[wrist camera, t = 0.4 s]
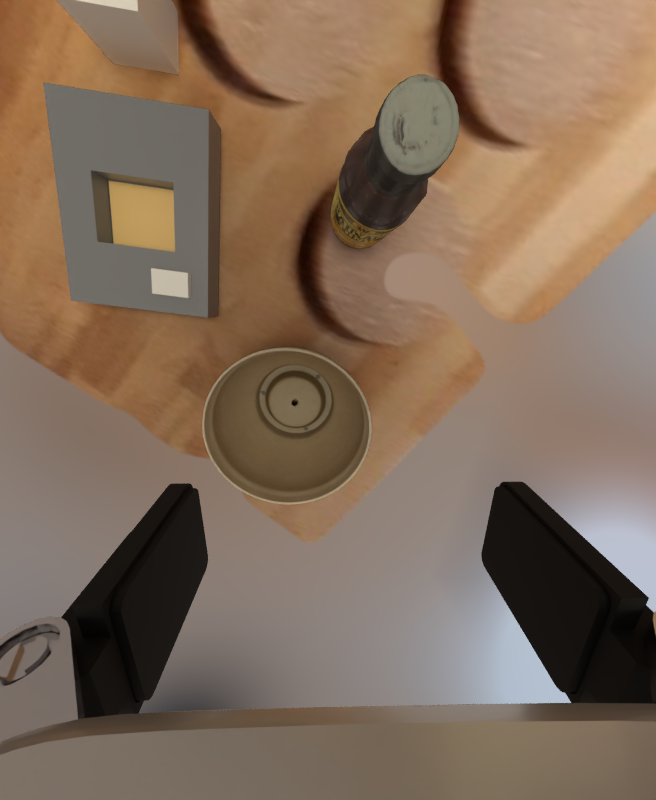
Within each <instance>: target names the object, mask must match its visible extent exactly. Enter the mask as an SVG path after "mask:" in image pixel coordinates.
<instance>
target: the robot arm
mask: <svg viewBox="0 0 656 800" xmlns="http://www.w3.org/2000/svg"><path fill="white" fill-rule="evenodd" d="M482 561H483V564H484V567H485V568H486V570H487V572H488V573H489V575H490V577H491V578H492V580H493V581H494V583H495V585H496V587H497V588H498V590H499V592H500V593H501V595H502V597H503V598H504V600H505V602H506V603H507V605H508V607H509V608H510V610H511V612H512V614H513V615H514V617H515V619H516V620H517V622H518V623H519V625H520V627H521V628H522V630H523V632H524V634H525V635H526V637H527V639H528V640H529V642H530V643H531V645H532V647H533V649H534V650H535V652H536V654H537V655H538V657H539V659H540V660H541V662H542V664H543V665H544V667H545V669H546V670H547V672H548V674H549V675H550V677H551V679H552V680H553V682H554V684H555V685H556V686H557V688H558V689H559V690H560V691H562V692H565V693H566V694H567V696H568V698H569V699H570V701H571V703H541V704H540V703H538V704H465V705H464V704H463V705H412V706H360V707H314V708H277V709H276V708H275V709H238V710H201V711H180V712H158V713H139V711H140V708H141V706H142V704H143V702H144V700H149V699H150V698H151V697H152V695H153V693H154V691H155V689H156V687H157V684H158V682H159V679H160V677H161V675H162V672H163V670H164V667H165V665H166V662H167V660H168V658H169V656H170V653H171V651H172V648H173V646H174V644H175V642H176V639H177V637H178V634H179V632H180V629H181V627H182V625H183V622H184V620H185V618H186V615H187V613H188V611H189V608H190V606H191V604H192V601H193V599H194V597H195V594H196V592H197V589H198V587H199V584H200V582H201V580H202V577H203V575H204V573H205V571H206V567H207V563H208V554H207V547H206V540H205V534H204V527H203V520H202V513H201V506H200V500H199V493H198V490H197V489H195V488H193V487H192V485H191V484H170V485H169V486H168V487H167V488H166V489H165V491H164V492H163V493H162V495H161V496H160V497H159V498H158V499H157V501H156V502H155V503H154V505H153V506H152V507H151V508H150V509H149V511H148V512H147V513H146V514H145V516H144V517H143V518H142V520H141V521H140V522H139V523H138V524H137V526H136V527H135V528H134V529H133V530H132V532H130V533H129V534H128V536H127V537H126V538H125V539H124V541H123V542H122V543H121V544H120V546H119V547H118V548H117V549H116V550H115V552H114V553H113V554H112V555H111V557H110V558H109V559H108V560H107V562H106V563H105V564H104V565H103V566H102V568H101V569H100V570H99V572H98V573H97V574H96V575H95V576H94V578H93V579H92V580H91V581H90V583H89V584H88V585H87V586H86V588H85V589H84V590H83V591H82V592H81V594H80V595H79V596H78V597H77V599H76V600H75V601H74V602H73V604H72V605H71V606H70V607H69V609H68V610H67V611H66V612H65V614H64V615H63V616H62V617H61V618H60V617H46V618H41V619H36V620H34V621H31V622H29V623H26V624H24V625H22V626H20V627H18V628H16V629H15V630H13V631H11V632H9V633H8V634H6V635H5V636H4V637H3V638H1V639H0V800H656V612H654V613H653V611H651V610H650V609H649V608H648V607H647V606H646V603H647V601H648V597H647V596H646V595H645V594H644V593H643V592H642V591H641V590H640V589H639V588H637V587H636V586H635V585H634V584H633V583H632V582H631V581H630V580H629V579H627V578H626V576H624V575H623V574H622V573H621V572H620V571H619V570H618V569H617V568H616V567H615V566H614V565H612V563H610V562H609V561H608V560H607V559H606V558H605V557H604V556H603V555H602V554H601V553H599V551H598V550H596V549H595V548H594V547H593V546H592V545H591V544H590V543H589V542H588V541H587V540H585V538H583V537H582V536H581V535H580V534H579V533H578V532H577V531H576V530H575V529H574V528H573V527H572V526H571V525H569V524H568V523H567V522H566V521H565V520H564V519H563V518H562V517H561V516H560V515H559V514H558V513H556V512H555V511H554V510H553V509H552V508H551V507H550V506H549V505H548V504H547V503H546V502H544V501H543V500H542V499H541V498H540V497H539V496H538V495H537V494H536V493H535V492H534V491H533V490H532V489H531V488H529V487H528V486H527V485H526V484H525V483H523V482H502V483H501V484H500V486H499V487H496V488H495V491H494V496H493V500H492V505H491V510H490V515H489V520H488V525H487V530H486V534H485V539H484V544H483V549H482Z"/></svg>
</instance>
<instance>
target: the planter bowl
mask: <svg viewBox="0 0 656 800" xmlns="http://www.w3.org/2000/svg"><path fill="white" fill-rule="evenodd" d="M293 400H297V401H298V403H297V405H295V406H294V405H293V404H292V401H293ZM202 431H203V438H204V442H205V446H206V449H207V452H208V454H209V456H210V458H211V460H212V462H213V463H214V465H215V466H216V468H217V469H218V470H219V472H220V473H221V474H222V475H223V476H224V477H225V478H226V479H227V480H228V481H229V482H230V483H231V484H232V485H234V486H235V487H236V488H238V489H239V490H241V491H242V492H244V493H246V494H248V495H250V496H252V497H255V498H257V499H260V500H263V501H267V502H272V503H277V504H302V503H308V502H312V501H316V500H319V499H321V498H324V497H326V496H328V495H330V494H332V493H334V492H335V491H337V490H339V489H340V488H341V487H343V486H344V485H345V484H346V483H347V482H348V481H349V480H350V479H351V478H352V477H353V476H354V475H355V474H356V472H357V471H358V470H359V468H360V467H361V465H362V463H363V462H364V460H365V457H366V455H367V452H368V450H369V446H370V442H371V435H372V421H371V414H370V410H369V407H368V403H367V401H366V398H365V396H364V394H363V393H362V391H361V389H360V387H359V386H358V384H357V383H356V382H355V380H354V379H353V378H352V377H351V376H350V374H349V373H348V372H347V371H345V370H344V369H343V368H342V367H341V366H340V365H338V364H337V363H335V362H334V361H332V360H331V359H329V358H328V357H326V356H324V355H322V354H320V353H317V352H314V351H311V350H308V349H303V348H297V347H277V348H270V349H265V350H261V351H258V352H255V353H252V354H250V355H248V356H246V357H244V358H242V359H240V360H239V361H237V362H236V363H234V364H233V365H232V366H230V367H229V368H228V369H227V370H226V371H225V372H224V373H223V374H222V375H221V376H220V377H219V378H218V380H217V381H216V382H215V384H214V385H213V387H212V389H211V390H210V392H209V395H208V397H207V400H206V402H205V406H204V411H203V418H202Z"/></svg>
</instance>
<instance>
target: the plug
mask: <svg viewBox="0 0 656 800" xmlns="http://www.w3.org/2000/svg"><path fill="white" fill-rule="evenodd" d="M57 1H58V2H59V4H60V5H61V6H62V7H63V8H64V9H65V10H66V11H67V12H68V14H69V15H70V16H71V17H72V18H73V19H74V20H75V21H76V22H77V24H78V25H79V26H80V27H81V28H82V29H83V30H84V31H85V32H86V34H87V35H88V36H89V37H90V38H91V39H92V40H93V41H94V43H95V44H96V45H97V46H98V47H99V48H100V49H101V50H102V51H103V53H104V54H105V55H106V56H107V57H108V58H109V59H110V60H111V61H112V63H113V64H117V65H123V66H129V67H135V68H141V69H147V70H153V71H158V72H164V73H170V74H176V75H179V49H178V11H177V9H176V7H175V5H174V3H173V1H172V0H57Z"/></svg>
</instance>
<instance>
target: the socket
mask: <svg viewBox="0 0 656 800" xmlns="http://www.w3.org/2000/svg"><path fill="white" fill-rule="evenodd" d="M44 90H45V98H46V106H47V114H48V122H49V130H50V138H51V145H52V153H53V161H54V169H55V177H56V185H57V193H58V200H59V208H60V216H61V224H62V232H63V240H64V248H65V255H66V263H67V271H68V279H69V287H70V295H71V301H78V302H86V303H94V304H102V305H110V306H118V307H126V308H134V309H142V310H150V311H158V312H166V313H174V314H182V315H190V316H198V317H206V318H209V317H214V316H218V295H219V224H220V154H221V129H220V127H219V126H218V124H217V122H216V121H215V119H214V117H213V116H212V114H211V112H210V111H209V109H203V108H197V107H190V106H184V105H178V104H172V103H166V102H160V101H154V100H148V99H141V98H135V97H129V96H123V95H117V94H111V93H105V92H99V91H92V90H86V89H80V88H74V87H68V86H62V85H56V84H50V83H44Z"/></svg>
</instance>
